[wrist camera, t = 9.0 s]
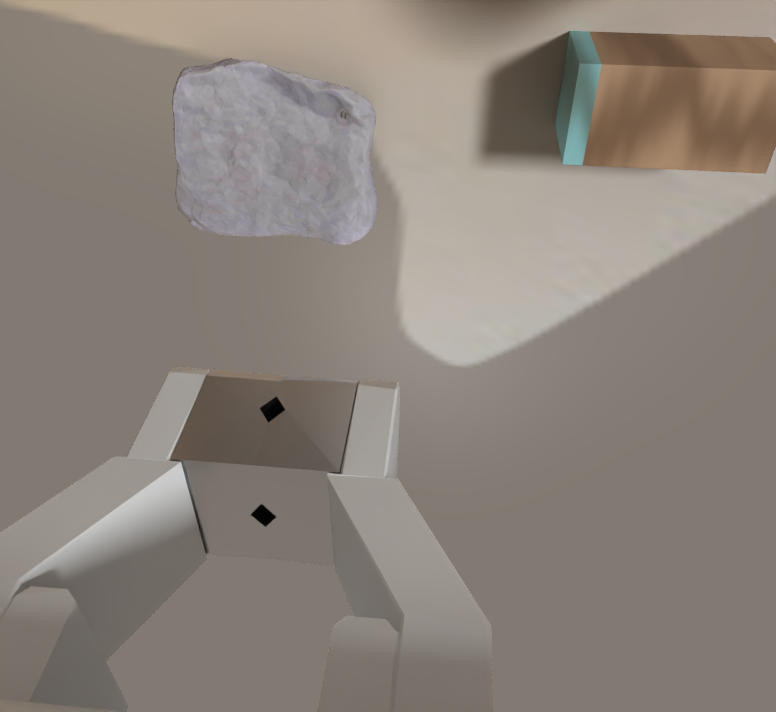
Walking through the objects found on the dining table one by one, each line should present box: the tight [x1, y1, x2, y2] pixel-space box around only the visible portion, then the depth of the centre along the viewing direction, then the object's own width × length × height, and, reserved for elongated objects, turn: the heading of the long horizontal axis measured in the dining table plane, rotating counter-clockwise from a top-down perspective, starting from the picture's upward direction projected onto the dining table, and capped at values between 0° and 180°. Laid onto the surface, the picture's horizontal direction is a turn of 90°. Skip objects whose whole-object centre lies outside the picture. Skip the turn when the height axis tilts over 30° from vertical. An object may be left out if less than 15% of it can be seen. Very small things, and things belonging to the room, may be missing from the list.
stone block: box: [172, 58, 378, 245], centre depth 42 cm, size 12×5×10 cm
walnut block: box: [555, 31, 776, 173], centre depth 37 cm, size 5×5×10 cm
